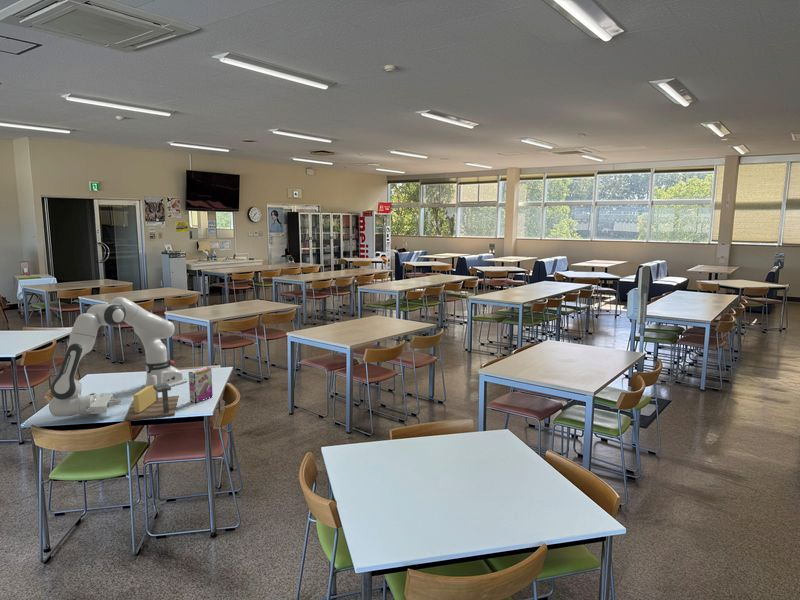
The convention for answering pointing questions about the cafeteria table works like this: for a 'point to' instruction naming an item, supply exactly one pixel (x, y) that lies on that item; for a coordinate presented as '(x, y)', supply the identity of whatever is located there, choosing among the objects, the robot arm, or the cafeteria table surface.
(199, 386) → the candy bar box
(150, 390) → the yellow rectangular slab
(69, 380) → the robot arm
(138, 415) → the pintle board
